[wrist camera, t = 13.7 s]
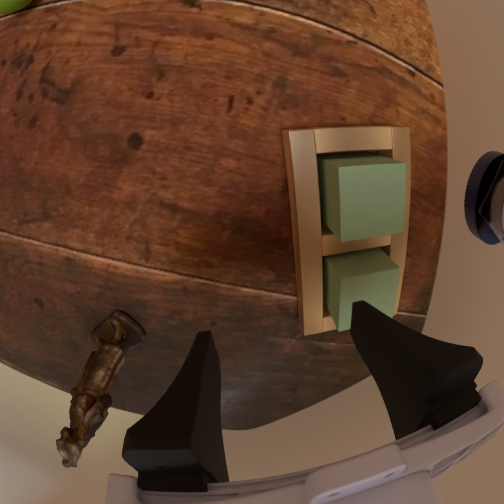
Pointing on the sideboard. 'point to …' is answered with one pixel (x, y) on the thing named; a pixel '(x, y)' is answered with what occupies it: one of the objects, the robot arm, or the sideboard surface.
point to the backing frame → (309, 218)
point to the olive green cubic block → (359, 283)
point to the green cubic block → (362, 195)
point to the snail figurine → (12, 5)
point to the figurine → (97, 384)
